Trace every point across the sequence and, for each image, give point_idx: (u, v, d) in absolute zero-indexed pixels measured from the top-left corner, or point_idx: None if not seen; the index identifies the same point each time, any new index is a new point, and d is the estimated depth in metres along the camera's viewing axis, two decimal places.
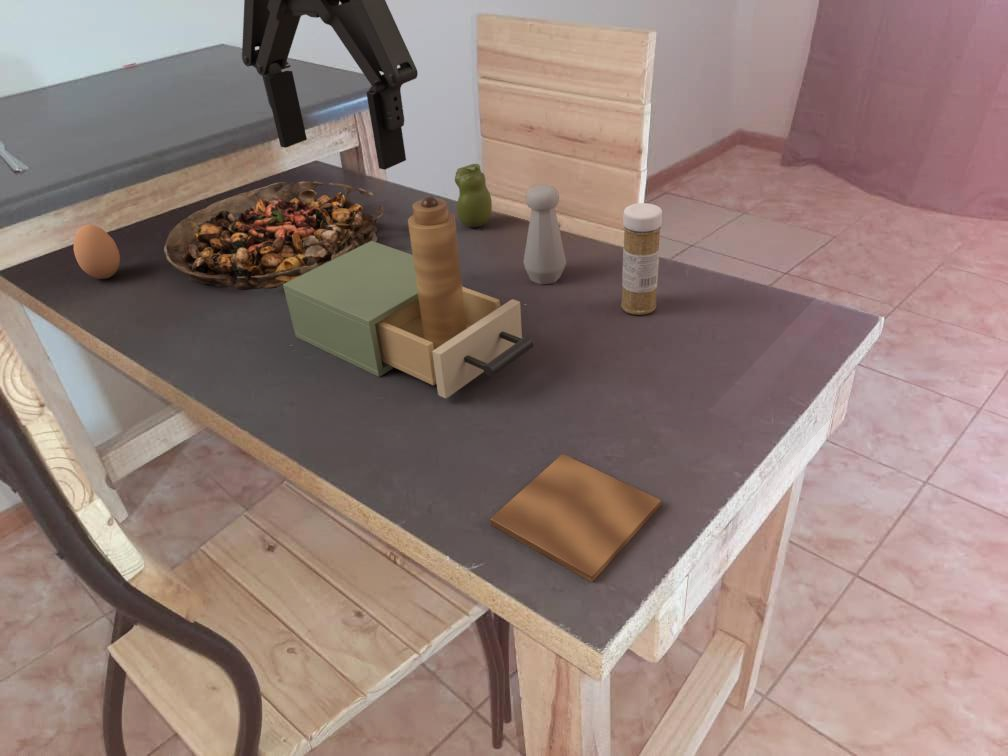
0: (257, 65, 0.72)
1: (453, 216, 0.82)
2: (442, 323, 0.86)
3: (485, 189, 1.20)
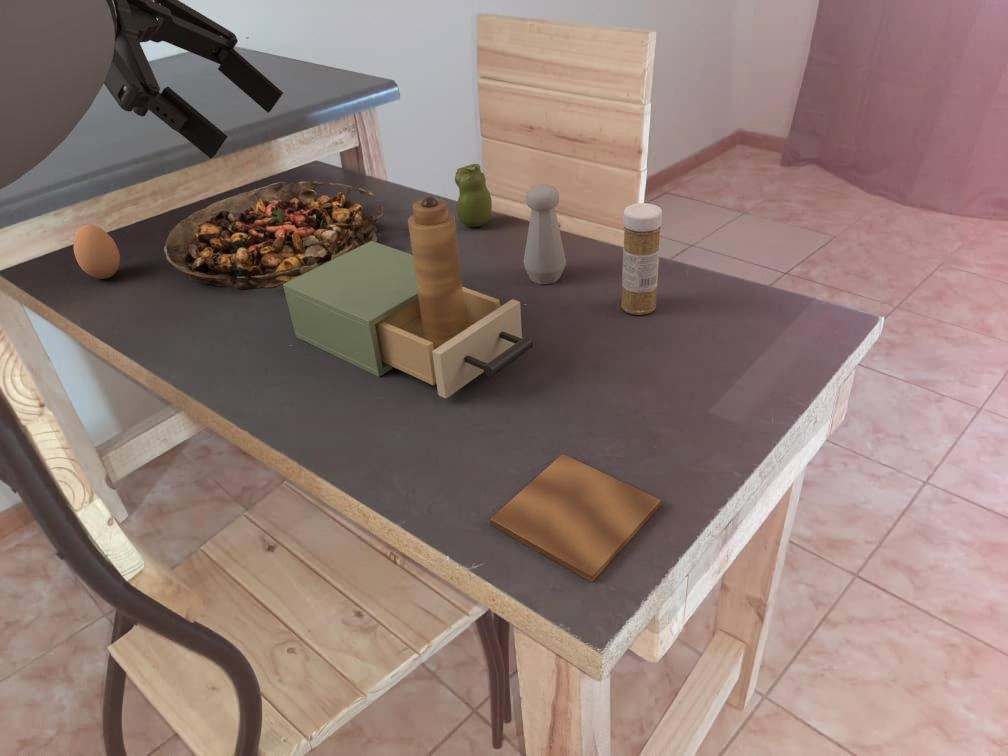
0: (149, 84, 0.69)
1: (453, 216, 0.82)
2: (442, 323, 0.86)
3: (486, 189, 1.20)
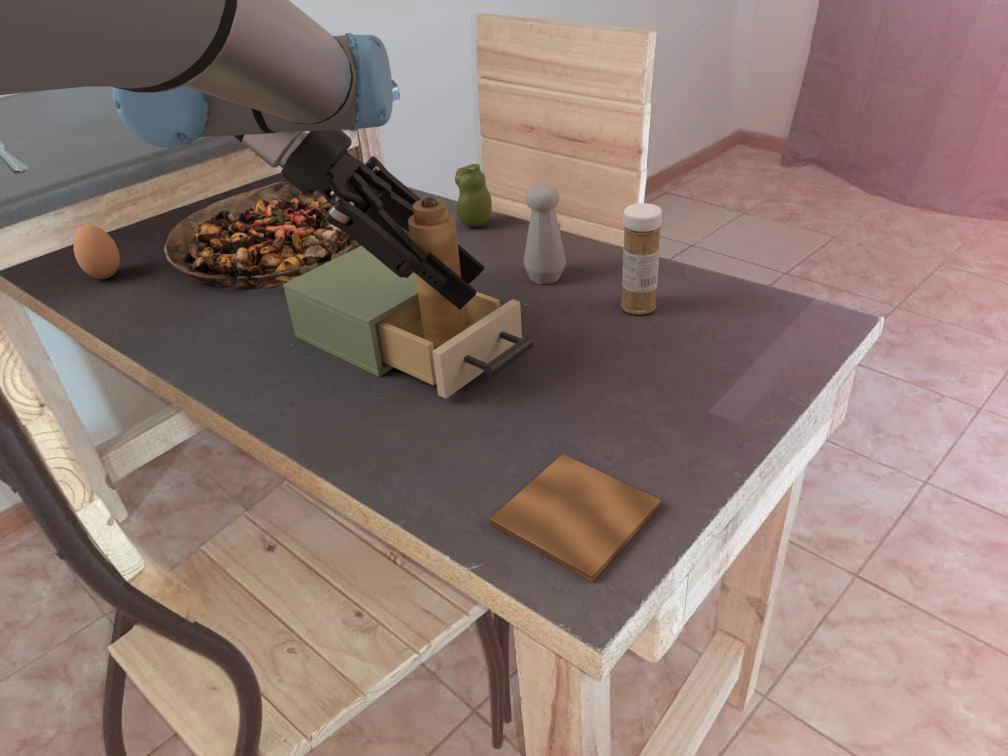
0: (420, 254, 0.80)
1: (453, 216, 0.82)
2: (442, 323, 0.86)
3: (486, 189, 1.20)
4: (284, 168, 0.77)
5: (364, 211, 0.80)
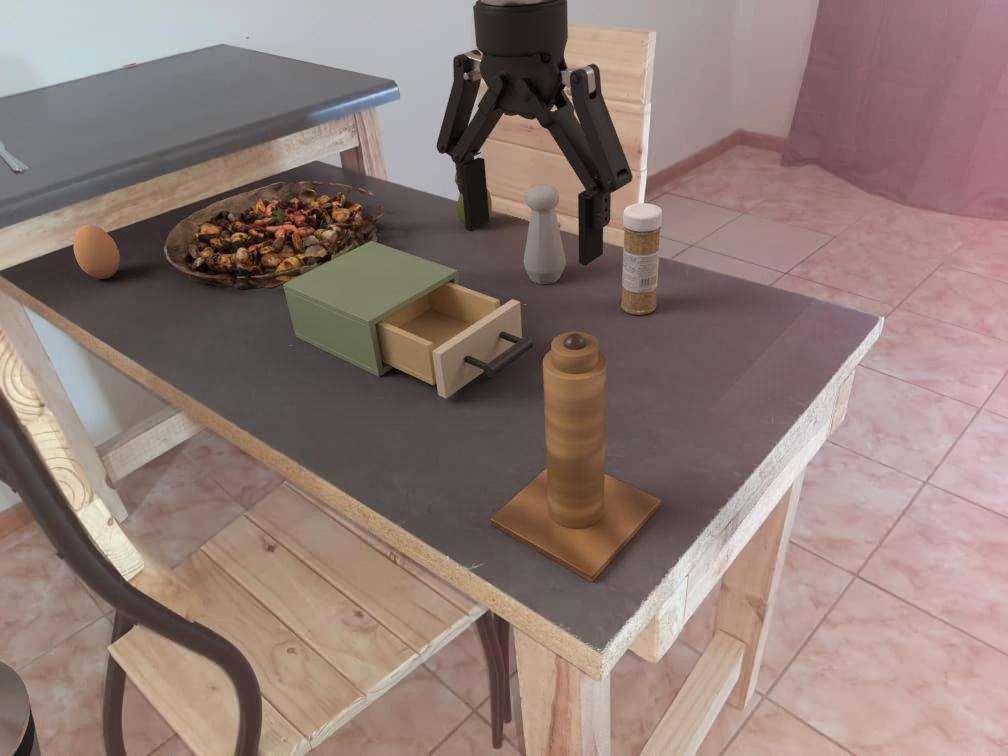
0: None
1: (604, 357, 0.61)
2: (579, 490, 0.65)
3: None
4: (538, 7, 0.59)
5: None
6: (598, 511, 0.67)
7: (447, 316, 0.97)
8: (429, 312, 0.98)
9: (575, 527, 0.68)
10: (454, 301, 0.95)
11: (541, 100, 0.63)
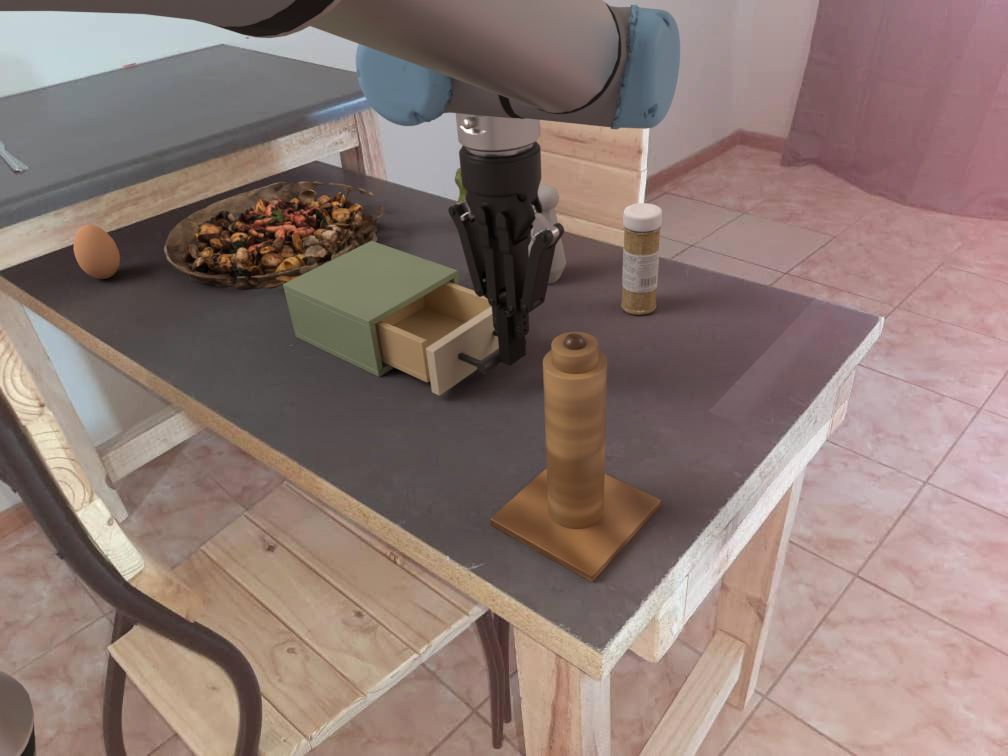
0: None
1: (604, 357, 0.61)
2: (579, 490, 0.65)
3: None
4: (514, 159, 0.68)
5: (520, 240, 0.75)
6: (598, 511, 0.67)
7: (441, 314, 0.97)
8: (423, 310, 0.98)
9: (575, 527, 0.68)
10: (449, 299, 0.95)
11: (510, 236, 0.74)
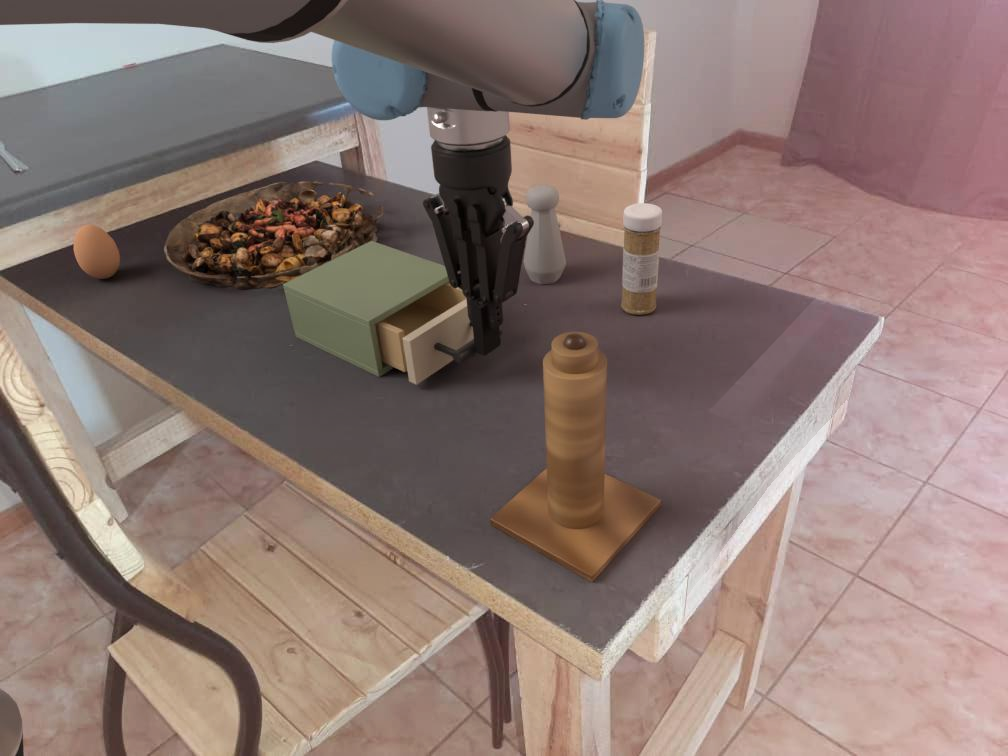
0: None
1: (604, 357, 0.61)
2: (579, 490, 0.65)
3: None
4: (484, 153, 0.70)
5: (491, 232, 0.77)
6: (598, 511, 0.67)
7: (421, 306, 0.99)
8: None
9: (575, 527, 0.68)
10: None
11: (481, 228, 0.76)
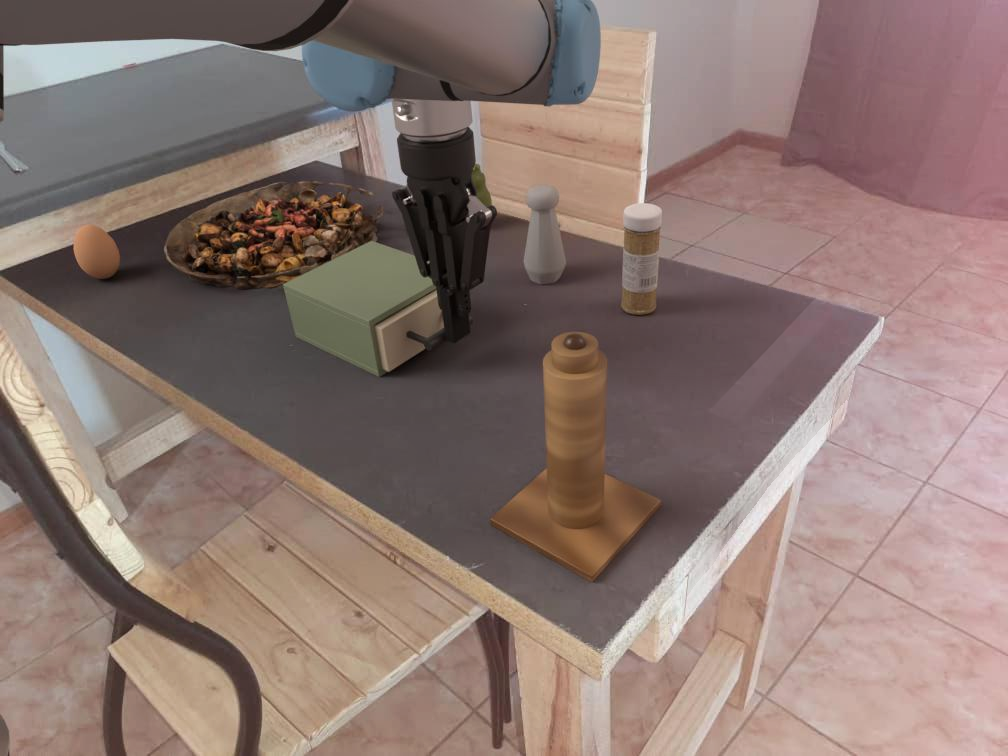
0: None
1: (604, 357, 0.61)
2: (579, 490, 0.65)
3: (486, 189, 1.20)
4: (446, 144, 0.73)
5: (457, 221, 0.79)
6: (598, 511, 0.67)
7: None
8: None
9: (575, 527, 0.68)
10: None
11: (447, 218, 0.78)
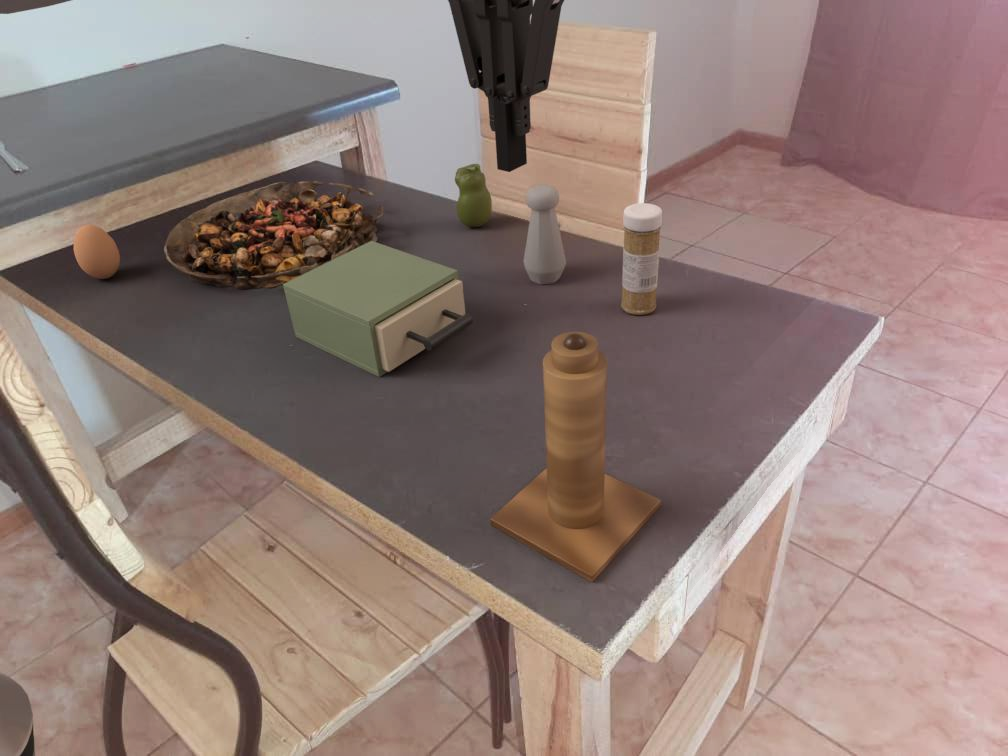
0: None
1: (604, 357, 0.61)
2: (579, 490, 0.65)
3: (486, 189, 1.20)
4: None
5: (520, 3, 0.66)
6: (598, 511, 0.67)
7: None
8: None
9: (575, 527, 0.68)
10: None
11: None
